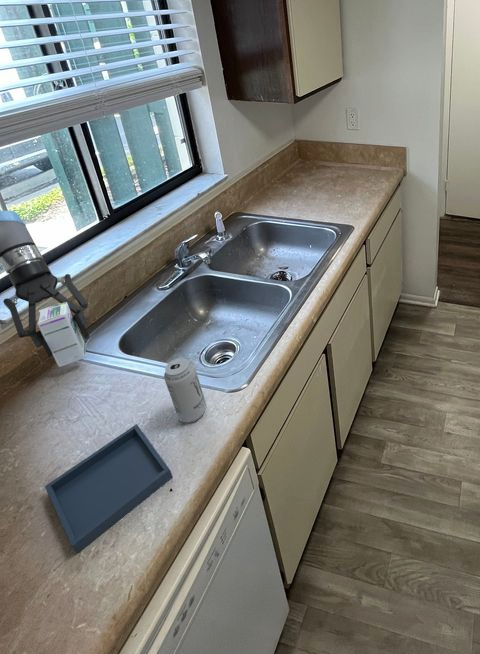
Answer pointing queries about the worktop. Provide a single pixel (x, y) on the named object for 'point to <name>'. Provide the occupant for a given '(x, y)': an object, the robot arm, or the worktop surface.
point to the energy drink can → (185, 389)
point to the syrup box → (61, 334)
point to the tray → (107, 486)
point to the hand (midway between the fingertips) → (69, 346)
